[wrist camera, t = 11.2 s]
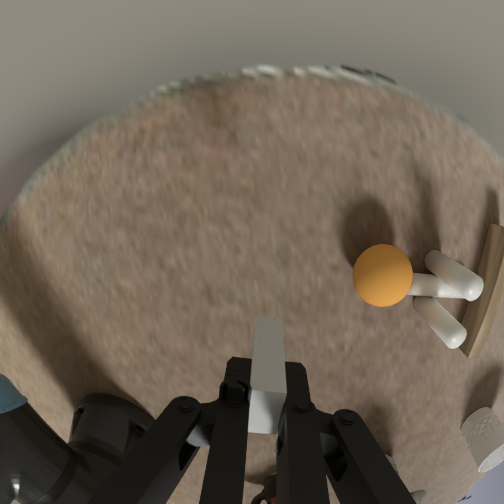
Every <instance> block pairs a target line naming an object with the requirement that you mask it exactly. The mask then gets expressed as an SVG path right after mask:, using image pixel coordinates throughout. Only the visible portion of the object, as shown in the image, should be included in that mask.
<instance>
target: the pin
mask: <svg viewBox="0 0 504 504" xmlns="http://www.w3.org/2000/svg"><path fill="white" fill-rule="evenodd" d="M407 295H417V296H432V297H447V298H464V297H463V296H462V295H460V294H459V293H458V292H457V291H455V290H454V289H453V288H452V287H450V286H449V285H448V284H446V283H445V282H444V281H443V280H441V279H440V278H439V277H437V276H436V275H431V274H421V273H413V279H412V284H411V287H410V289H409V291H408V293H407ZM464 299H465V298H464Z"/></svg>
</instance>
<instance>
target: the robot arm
mask: <svg viewBox="0 0 504 504" xmlns="http://www.w3.org/2000/svg"><path fill="white" fill-rule="evenodd" d="M27 401H28V399H27V398H26V397H25V396H23V395H22V394H21V393H20V392H19V391H18V390H17V389H16V387H15V386H14V385H13V384H12V383H11V381H10V380H9V379H8V378H7V377H6V376H4V375H3V374H0V504H11V502H12V501H13V500H14V499H15V500H17V501H18V502H19V503H21V504H166V502H167V501H168V499H169V498H170V496H171V494H172V493H173V491H174V490H175V488H176V486H177V485H178V483H179V482H180V480H181V478H182V477H183V475H184V473H185V472H186V470H187V469H188V467H189V465H190V464H191V462H192V460H193V459H194V457H195V455H196V454H197V452H198V450H199V449H200V446H208V445H210V449H209V454H208V459H207V465H206V470H205V475H204V480H203V486H202V491H201V496H200V502H199V504H242V500H243V488H244V475H245V463H246V450H247V436H248V432H255V433H266V434H277V431H278V439H277V442H276V446H275V450H274V452H276V459H277V504H330V501H329V493H328V486H327V479H326V474H327V476H328V479H329V481H330V483H331V485H332V487H333V489H334V492H335V494H336V496H337V498H338V500H339V502H340V504H417V503H416V502H415V500H414V499H413V497H412V496H411V494H410V492H409V491H408V489H407V488H406V486H405V485H404V483H403V482H402V480H401V479H400V477H399V475H398V474H397V472H396V471H395V469H394V468H393V466H392V465H391V463H390V462H389V460H388V458H387V457H386V455H385V454H384V452H383V451H382V449H381V448H380V446H379V445H378V443H377V441H376V440H375V438H374V437H373V435H372V434H371V432H370V431H369V429H368V428H367V426H366V424H365V423H364V421H363V420H362V418H361V417H360V416H359V415H358V414H357V413H356V412H354V411H352V410H348V409H341V410H338V411H336V412H335V413H334V414H333V415H332V414H328V413H325V412H322V411H320V410H318V409H316V407H315V405H314V404H313V403H312V402H311V399H310V392H309V386H308V380H307V373H306V369H305V367H304V366H303V365H302V364H301V363H297V362H285V359H284V346H283V333H282V320H281V319H280V318H270V317H261V316H256V319H255V326H254V334H253V342H252V350H251V359H248V358H239V357H232V358H231V359H230V360H229V361H228V362H227V367H226V372H225V377H224V381H223V382H222V383H221V385H220V391H219V398H218V399H217V400H215V401H213V402H210V403H201V404H200V403H199V402H198V400H196V399H194V398H192V397H188V396H180V397H177V398H174V399H173V400H172V401H171V402H170V403H169V404H168V406H167V407H166V408H165V409H164V411H163V412H162V413H161V414H160V416H159V417H158V418H157V419H156V421H154V420H153V419H152V418H151V417H150V416H149V415H148V414H146V413H145V412H144V411H142V410H141V409H139V408H138V407H136V406H134V405H133V404H131V403H129V402H127V401H125V400H122V399H120V398H117V397H114V396H110V395H105V394H91V395H88V396H86V397H84V398H83V399H82V400H81V401H80V403H79V404H78V406H77V407H76V409H75V411H74V415H73V420H72V426H71V432H70V438H69V442H68V443H66V442H65V441H64V440H63V439H62V438H61V437H60V436H59V435H58V434H57V433H56V432H55V431H54V430H53V429H52V428H51V427H50V426H49V425H48V424H47V423H46V422H45V421H44V420H43V419H42V418H41V416H40V415H39V414H38V413H37V412H36V411H35V410H34V409H33V407H32V406H31V405H30V404H29V403H28V402H27Z"/></svg>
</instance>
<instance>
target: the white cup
mask: <svg viewBox="0 0 504 504" xmlns="http://www.w3.org/2000/svg"><path fill="white" fill-rule="evenodd" d="M461 432H462V435H463V436H464V438H465V442H466V444H467V446H468V449H469V451H470V453H471V455H472V458H473V460H474V462H475V464H476V466H477V469H478V471H479V472H485V471H488V470H490V469H492V468H494V467H495V466H497V465H498V464H500V463H501V462H502V461H503V460H504V423H503V422H502V421H501V420H500V419H499V418H498V417H497V416H496V415H495V413H494V412H493V411H492V410H491V408H489V407H483V408H480V409H478V410H476V411H475V412H473V413H472V414H471V415H470V416H469V417H468V418H467V419H466V420H465V421H464V423H463V424H462V427H461Z"/></svg>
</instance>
